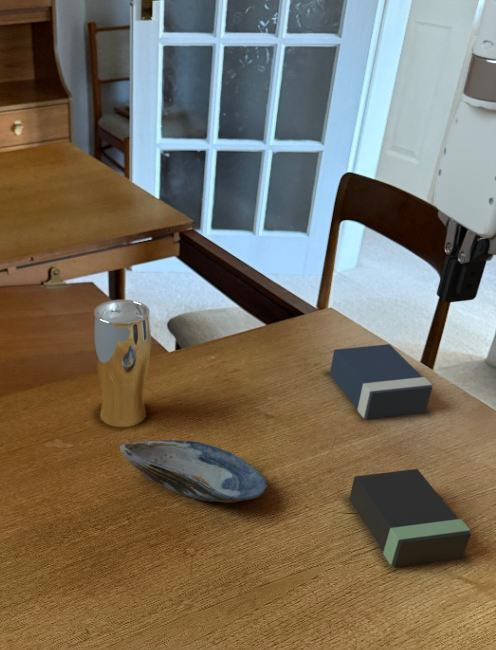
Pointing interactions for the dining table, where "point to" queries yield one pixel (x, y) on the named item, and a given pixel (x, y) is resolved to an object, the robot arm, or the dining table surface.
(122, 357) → the beer glass
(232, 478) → the seashell
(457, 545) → the dark grey rectangular block
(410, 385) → the navy blue box
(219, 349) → the dining table surface
